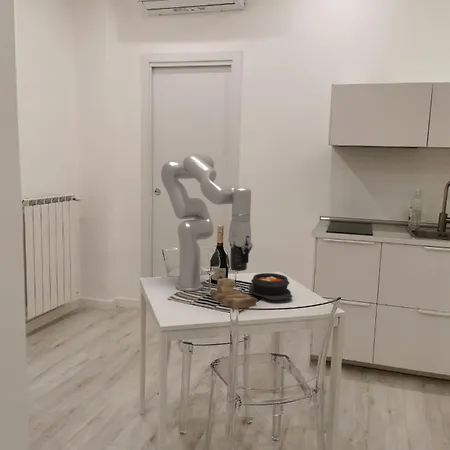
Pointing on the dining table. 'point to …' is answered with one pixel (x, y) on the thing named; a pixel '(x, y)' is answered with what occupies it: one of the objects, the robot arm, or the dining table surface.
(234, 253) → the supplement bottle
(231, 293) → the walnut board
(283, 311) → the dining table surface
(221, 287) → the oak cube
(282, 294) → the casserole
